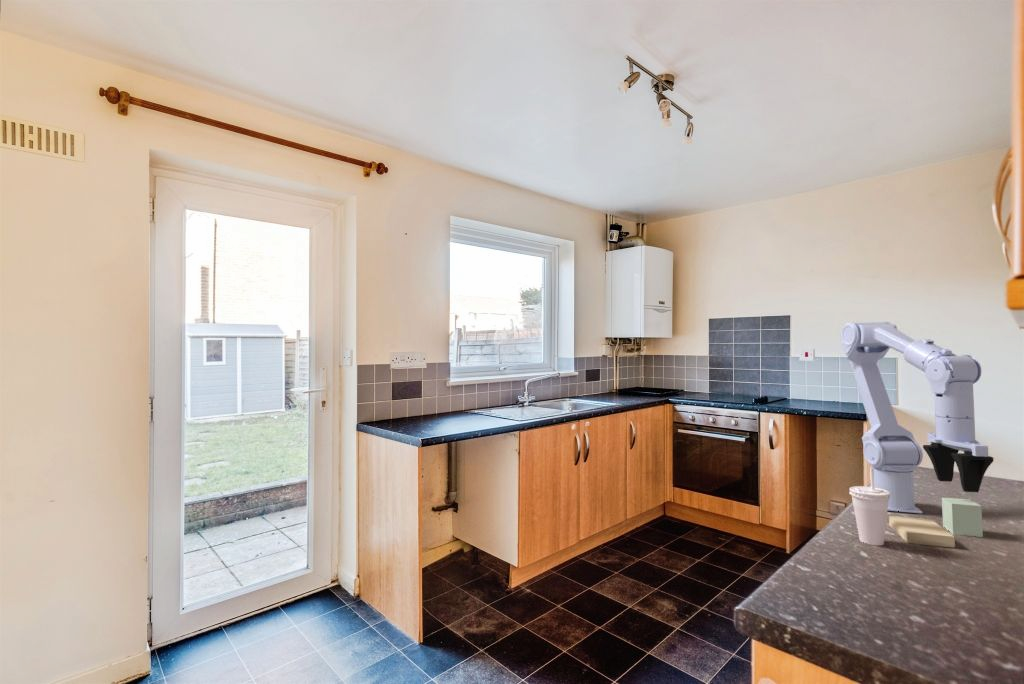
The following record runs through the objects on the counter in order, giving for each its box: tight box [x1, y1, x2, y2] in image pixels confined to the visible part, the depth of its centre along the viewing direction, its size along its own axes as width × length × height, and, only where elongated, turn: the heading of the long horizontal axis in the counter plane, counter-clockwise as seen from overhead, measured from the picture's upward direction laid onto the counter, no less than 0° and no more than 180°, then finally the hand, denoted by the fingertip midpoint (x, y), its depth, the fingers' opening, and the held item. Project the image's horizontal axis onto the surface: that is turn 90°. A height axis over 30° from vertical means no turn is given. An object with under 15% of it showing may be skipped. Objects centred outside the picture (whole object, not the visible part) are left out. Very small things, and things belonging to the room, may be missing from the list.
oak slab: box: [888, 515, 956, 548], centre depth 94 cm, size 10×7×2 cm
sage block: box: [941, 497, 984, 538], centre depth 96 cm, size 4×4×6 cm
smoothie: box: [849, 466, 891, 547], centre depth 92 cm, size 6×6×14 cm
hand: (957, 486), depth 95 cm, fingers open, 7 cm apart
